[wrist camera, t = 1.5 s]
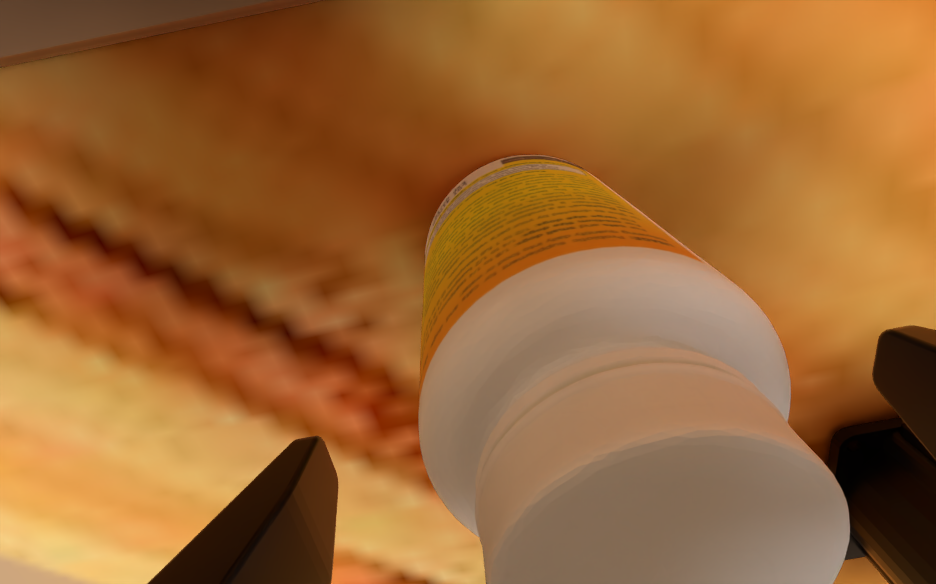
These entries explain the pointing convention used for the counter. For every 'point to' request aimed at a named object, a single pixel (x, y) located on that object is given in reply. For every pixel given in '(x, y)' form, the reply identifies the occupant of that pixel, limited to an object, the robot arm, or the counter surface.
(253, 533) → the robot arm
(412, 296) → the counter surface
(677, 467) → the supplement bottle
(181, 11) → the walnut stand
